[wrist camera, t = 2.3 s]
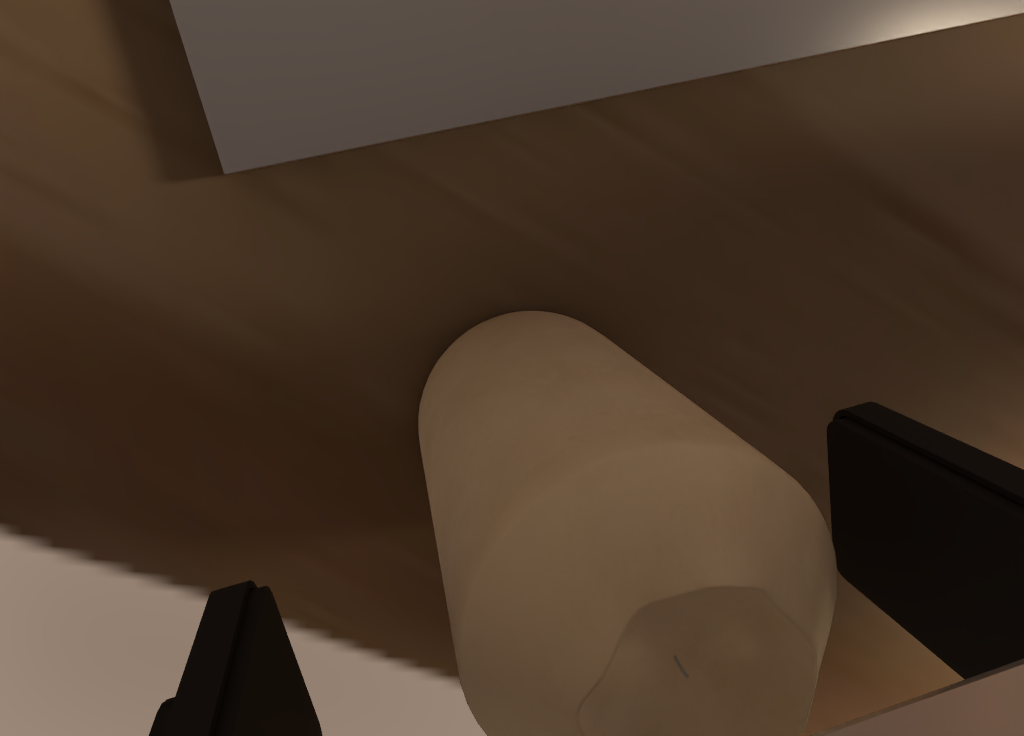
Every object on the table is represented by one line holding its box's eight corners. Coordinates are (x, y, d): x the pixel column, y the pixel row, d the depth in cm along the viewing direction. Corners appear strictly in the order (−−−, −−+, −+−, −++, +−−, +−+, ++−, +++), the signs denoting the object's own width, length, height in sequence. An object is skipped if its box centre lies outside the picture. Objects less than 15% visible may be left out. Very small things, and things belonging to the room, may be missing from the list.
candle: (398, 500, 17) (429, 894, 8) (439, 288, 16) (533, 464, 7) (600, 522, 19) (829, 883, 9) (653, 327, 17) (981, 521, 8)
